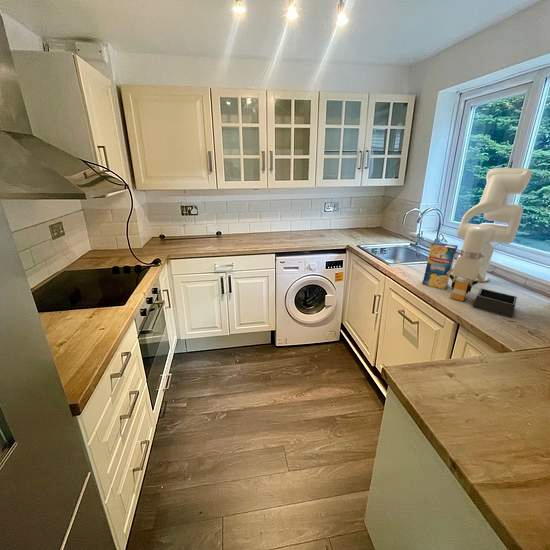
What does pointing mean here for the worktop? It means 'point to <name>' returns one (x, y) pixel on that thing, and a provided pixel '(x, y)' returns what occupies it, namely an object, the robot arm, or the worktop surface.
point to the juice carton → (460, 289)
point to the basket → (495, 302)
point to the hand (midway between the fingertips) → (460, 290)
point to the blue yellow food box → (439, 264)
